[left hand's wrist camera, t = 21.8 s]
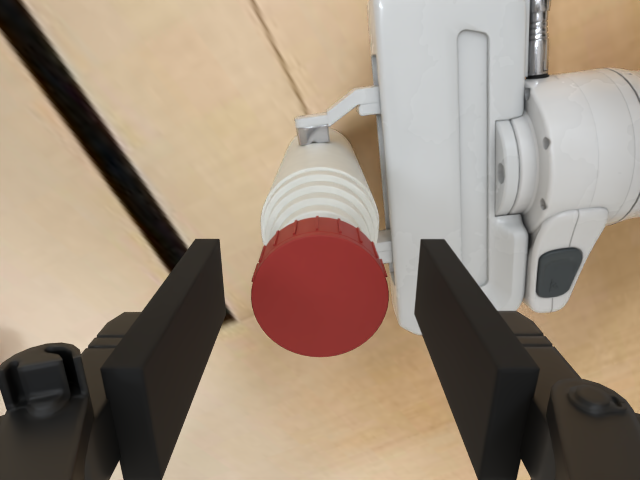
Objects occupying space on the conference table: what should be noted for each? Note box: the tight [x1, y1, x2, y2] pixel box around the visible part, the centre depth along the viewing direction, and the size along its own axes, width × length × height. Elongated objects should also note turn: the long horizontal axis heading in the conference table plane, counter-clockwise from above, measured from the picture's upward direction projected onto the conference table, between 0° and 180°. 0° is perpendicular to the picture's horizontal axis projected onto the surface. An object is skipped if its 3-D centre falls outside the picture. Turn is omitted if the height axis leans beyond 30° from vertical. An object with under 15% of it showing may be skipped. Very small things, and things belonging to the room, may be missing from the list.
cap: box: [251, 216, 389, 357], centre depth 14 cm, size 4×4×2 cm
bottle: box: [261, 128, 379, 247], centre depth 23 cm, size 5×5×20 cm
